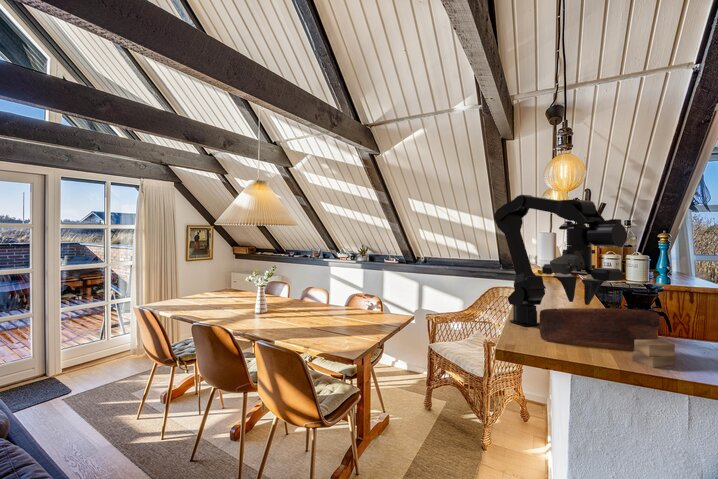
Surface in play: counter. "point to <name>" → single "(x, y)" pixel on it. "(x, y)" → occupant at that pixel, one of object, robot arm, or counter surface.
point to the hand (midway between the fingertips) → (578, 303)
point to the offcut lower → (653, 360)
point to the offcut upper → (654, 347)
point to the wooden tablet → (598, 326)
